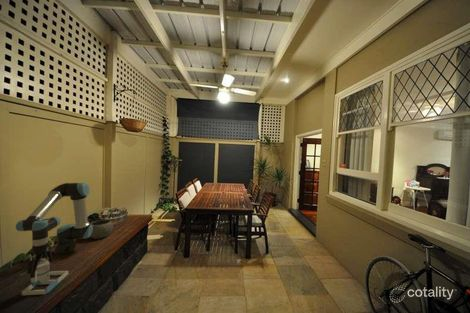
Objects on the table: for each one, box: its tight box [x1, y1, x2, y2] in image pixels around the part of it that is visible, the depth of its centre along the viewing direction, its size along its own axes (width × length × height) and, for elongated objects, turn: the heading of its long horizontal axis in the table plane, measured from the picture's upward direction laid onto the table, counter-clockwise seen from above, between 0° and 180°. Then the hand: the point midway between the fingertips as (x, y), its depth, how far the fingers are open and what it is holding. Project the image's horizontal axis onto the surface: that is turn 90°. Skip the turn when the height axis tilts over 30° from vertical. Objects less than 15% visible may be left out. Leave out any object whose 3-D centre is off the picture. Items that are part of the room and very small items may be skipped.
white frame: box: [21, 270, 69, 296], centre depth 135 cm, size 20×14×4 cm
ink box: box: [30, 258, 51, 287], centre depth 130 cm, size 9×5×15 cm, turn 141°
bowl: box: [89, 219, 114, 240], centre depth 210 cm, size 23×23×15 cm
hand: (40, 276), depth 130 cm, fingers closed on ink box, 9 cm apart
